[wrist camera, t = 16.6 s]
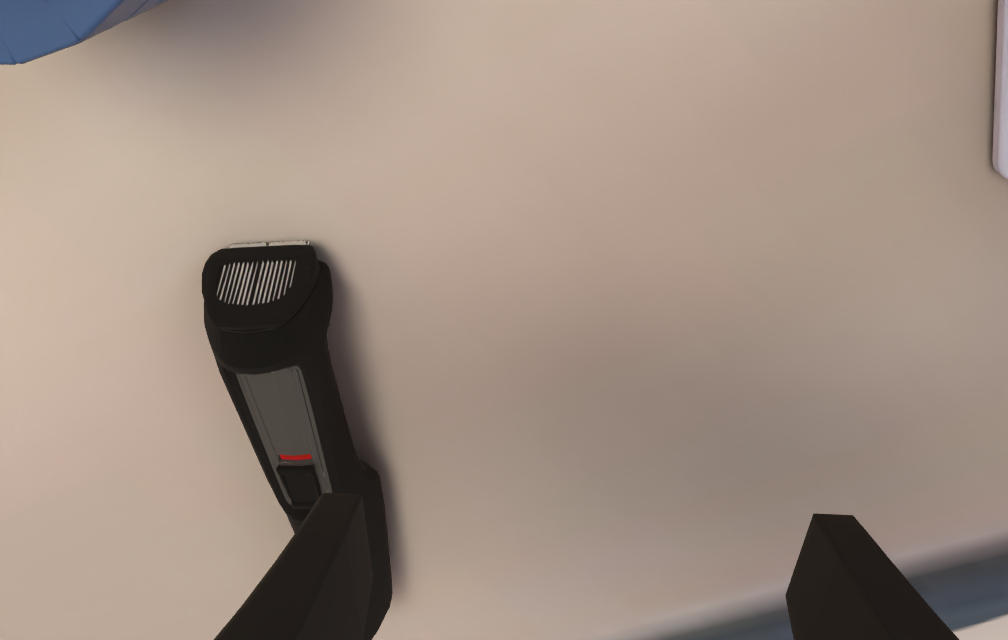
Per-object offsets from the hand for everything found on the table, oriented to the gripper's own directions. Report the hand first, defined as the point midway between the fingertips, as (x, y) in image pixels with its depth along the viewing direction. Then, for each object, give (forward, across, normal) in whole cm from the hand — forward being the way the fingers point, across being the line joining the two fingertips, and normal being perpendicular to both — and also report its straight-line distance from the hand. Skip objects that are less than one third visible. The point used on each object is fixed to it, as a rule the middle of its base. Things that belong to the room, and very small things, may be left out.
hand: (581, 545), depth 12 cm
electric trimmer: (+11, +8, +8) cm, 15 cm away
